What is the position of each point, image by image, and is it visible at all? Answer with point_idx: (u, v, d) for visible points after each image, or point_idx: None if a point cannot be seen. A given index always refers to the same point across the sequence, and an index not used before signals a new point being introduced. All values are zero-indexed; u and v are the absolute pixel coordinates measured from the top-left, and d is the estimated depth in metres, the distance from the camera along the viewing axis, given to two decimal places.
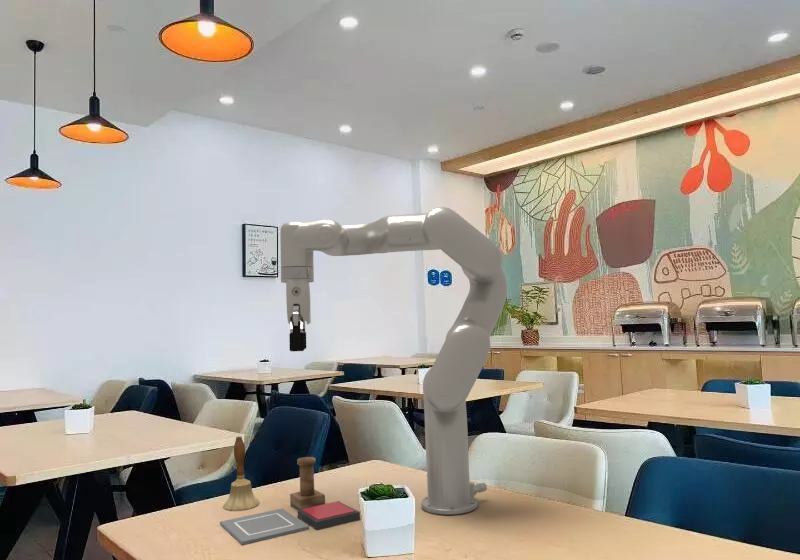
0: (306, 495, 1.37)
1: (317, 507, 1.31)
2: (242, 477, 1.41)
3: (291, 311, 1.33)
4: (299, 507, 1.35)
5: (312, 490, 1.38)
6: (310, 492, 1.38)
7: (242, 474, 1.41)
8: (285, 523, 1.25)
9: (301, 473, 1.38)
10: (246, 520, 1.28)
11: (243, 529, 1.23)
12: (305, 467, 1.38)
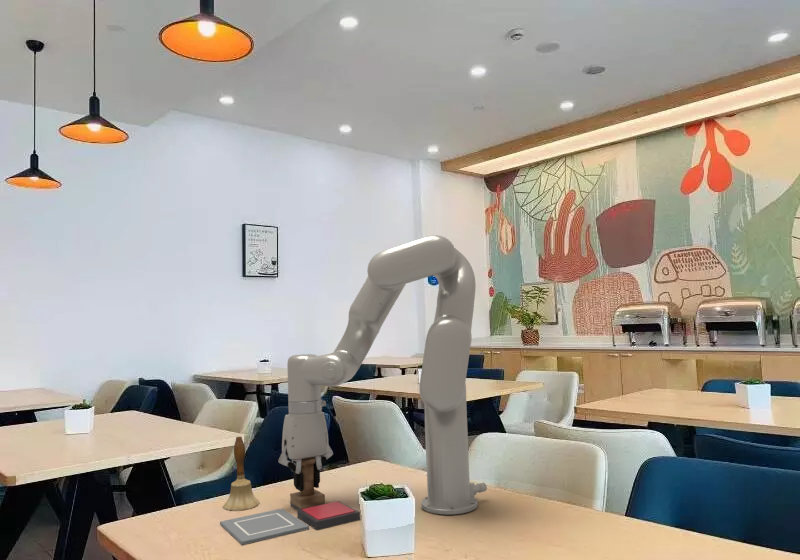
0: (306, 495, 1.37)
1: (317, 507, 1.31)
2: (242, 477, 1.41)
3: None
4: (299, 507, 1.35)
5: (312, 489, 1.38)
6: (310, 492, 1.38)
7: (242, 474, 1.41)
8: (285, 523, 1.25)
9: None
10: (246, 520, 1.28)
11: (243, 529, 1.23)
12: (305, 467, 1.38)
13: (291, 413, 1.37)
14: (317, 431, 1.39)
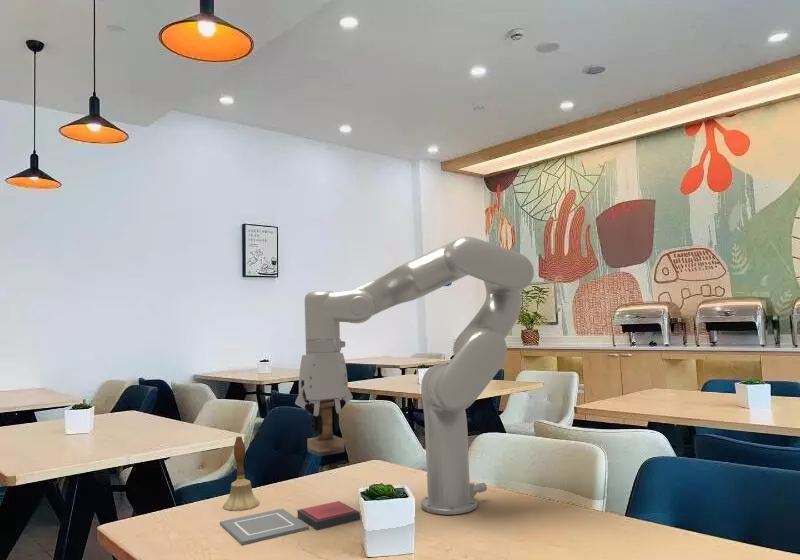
0: (324, 439, 1.29)
1: (317, 507, 1.31)
2: (242, 477, 1.41)
3: None
4: (317, 451, 1.27)
5: (330, 434, 1.30)
6: (329, 436, 1.29)
7: (242, 474, 1.41)
8: (285, 523, 1.25)
9: None
10: (246, 520, 1.28)
11: (243, 529, 1.23)
12: (323, 409, 1.29)
13: (309, 352, 1.29)
14: (336, 372, 1.30)
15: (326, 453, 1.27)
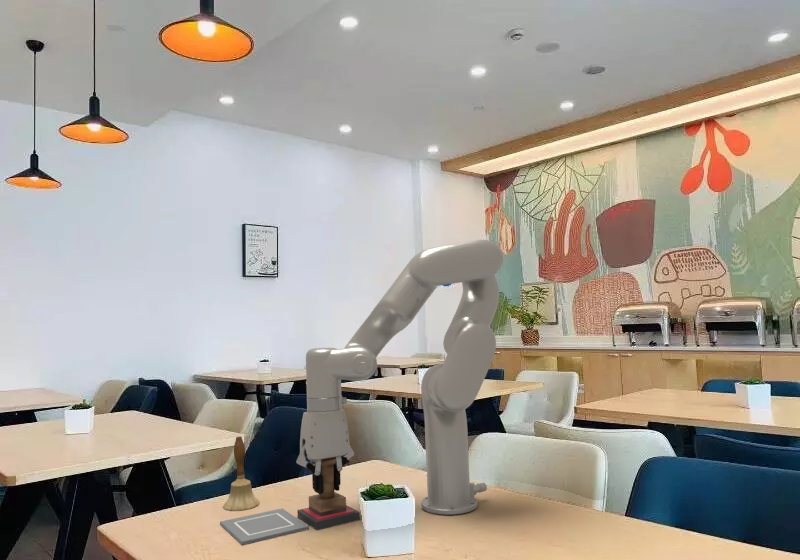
0: (326, 498, 1.28)
1: None
2: (242, 477, 1.41)
3: None
4: (319, 511, 1.26)
5: (332, 492, 1.29)
6: (330, 494, 1.28)
7: (242, 474, 1.41)
8: (285, 523, 1.25)
9: None
10: (246, 520, 1.28)
11: (243, 529, 1.23)
12: (325, 468, 1.28)
13: (310, 410, 1.28)
14: (338, 430, 1.30)
15: (328, 513, 1.26)
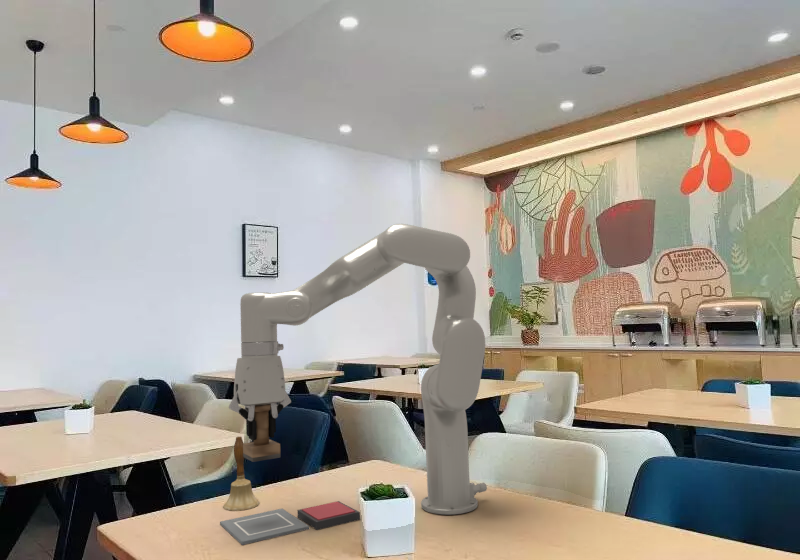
0: (259, 444, 1.25)
1: (317, 507, 1.31)
2: (242, 477, 1.41)
3: None
4: (251, 457, 1.23)
5: (266, 438, 1.26)
6: (264, 441, 1.26)
7: (242, 474, 1.41)
8: (285, 523, 1.25)
9: None
10: (246, 520, 1.28)
11: (243, 529, 1.23)
12: (259, 413, 1.26)
13: (243, 355, 1.26)
14: (272, 375, 1.27)
15: (260, 459, 1.23)
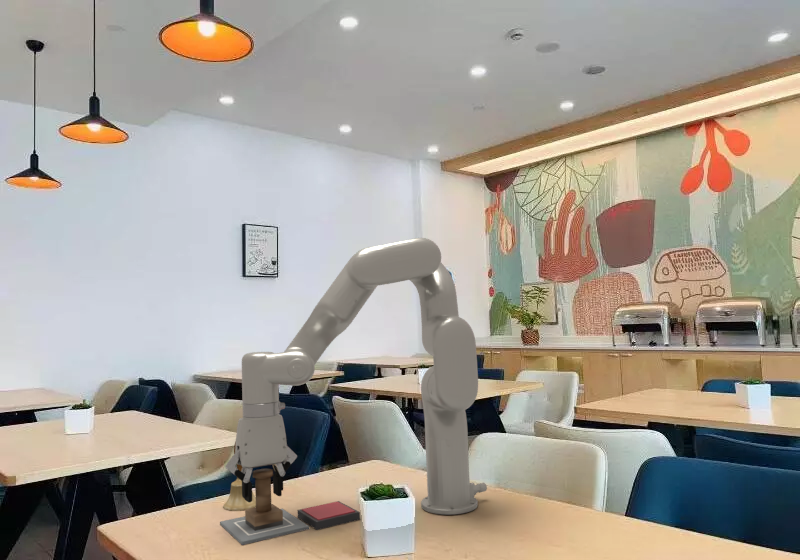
0: (262, 511, 1.24)
1: (317, 507, 1.31)
2: None
3: None
4: (253, 525, 1.22)
5: (268, 505, 1.25)
6: (266, 508, 1.25)
7: None
8: (285, 523, 1.25)
9: (256, 487, 1.25)
10: None
11: (243, 529, 1.23)
12: (261, 480, 1.25)
13: (245, 416, 1.25)
14: (274, 436, 1.26)
15: (262, 527, 1.23)
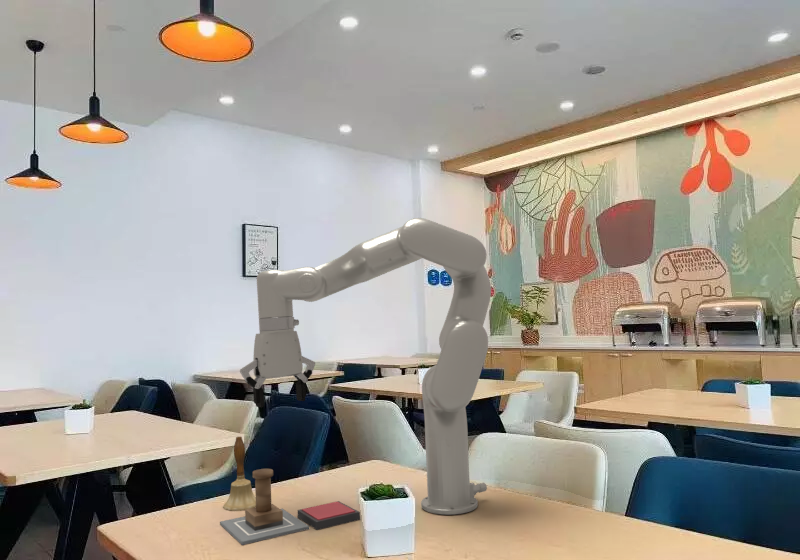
0: (262, 511, 1.24)
1: (317, 507, 1.31)
2: (242, 477, 1.41)
3: None
4: (253, 525, 1.22)
5: (268, 505, 1.25)
6: (266, 508, 1.25)
7: (242, 474, 1.41)
8: (285, 523, 1.25)
9: (256, 487, 1.25)
10: None
11: (243, 529, 1.23)
12: (261, 480, 1.25)
13: (262, 330, 1.31)
14: (290, 349, 1.32)
15: (262, 527, 1.23)
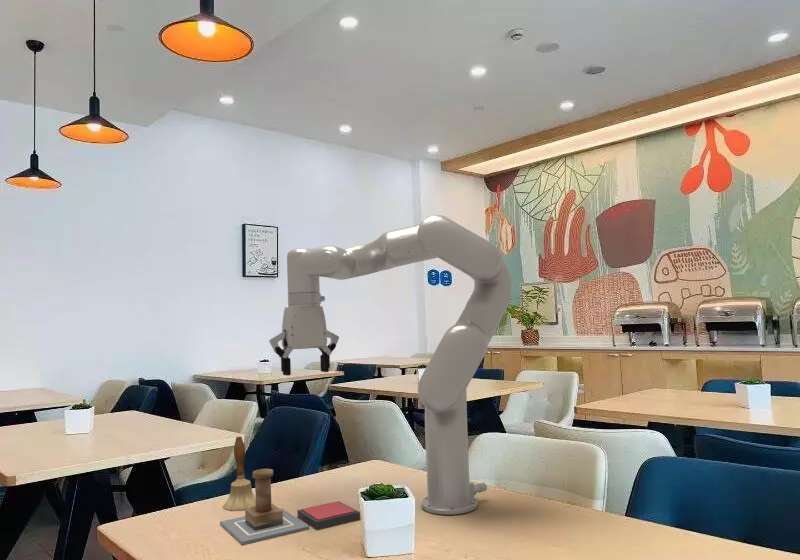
0: (262, 511, 1.24)
1: (317, 507, 1.31)
2: (242, 477, 1.41)
3: None
4: (253, 525, 1.22)
5: (268, 505, 1.25)
6: (266, 508, 1.25)
7: (242, 474, 1.41)
8: (285, 523, 1.25)
9: (256, 487, 1.25)
10: None
11: (243, 529, 1.23)
12: (261, 480, 1.25)
13: (290, 304, 1.40)
14: (316, 323, 1.42)
15: (262, 527, 1.23)
